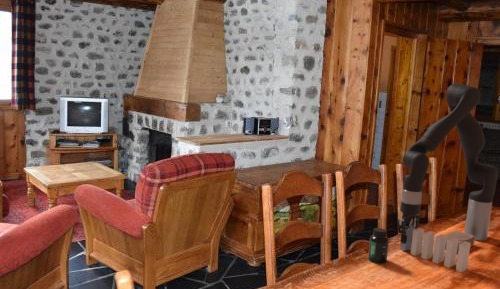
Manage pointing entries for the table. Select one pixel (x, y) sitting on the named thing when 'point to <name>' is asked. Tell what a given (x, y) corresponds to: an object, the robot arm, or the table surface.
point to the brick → (460, 238)
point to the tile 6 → (463, 256)
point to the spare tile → (408, 239)
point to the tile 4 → (439, 248)
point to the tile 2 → (417, 241)
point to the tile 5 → (451, 252)
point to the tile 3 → (428, 245)
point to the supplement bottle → (378, 246)
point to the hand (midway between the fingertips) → (406, 241)
